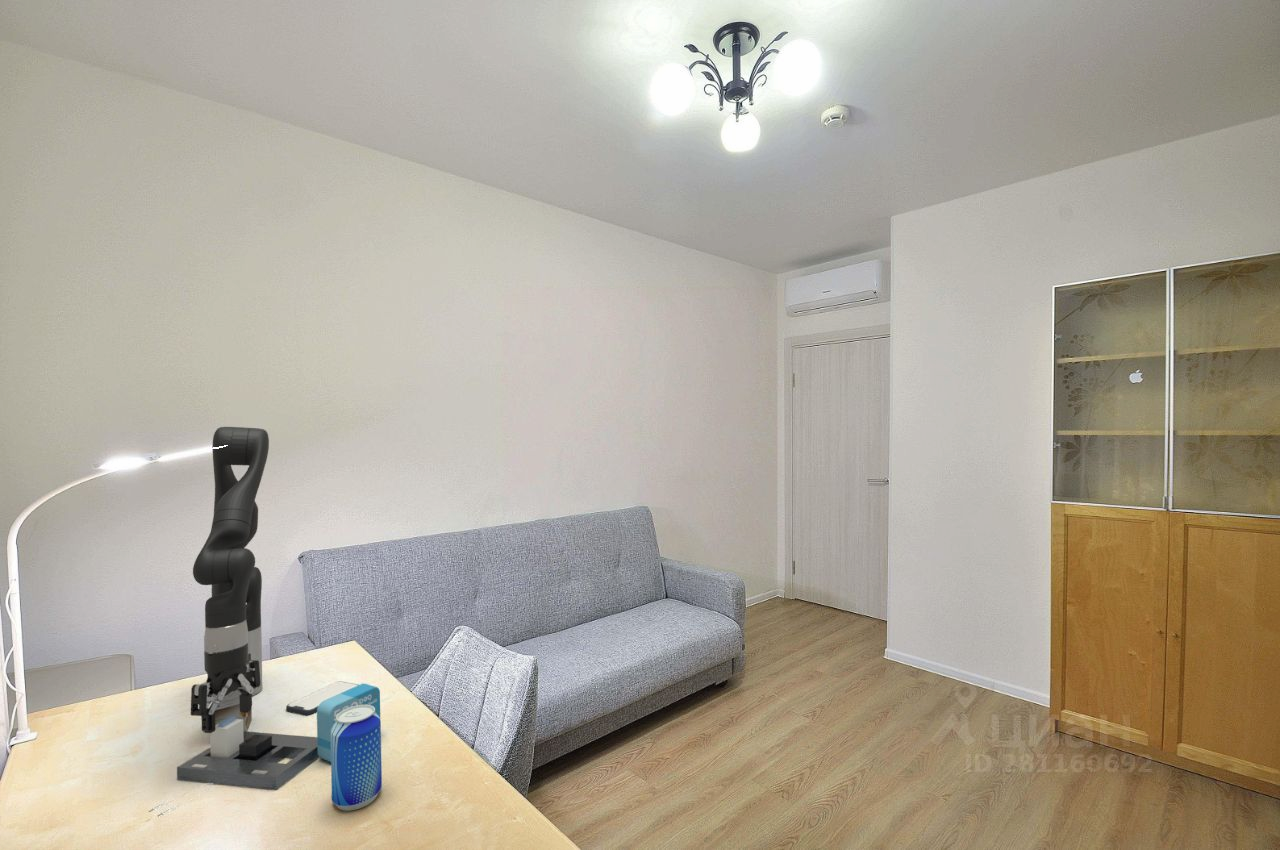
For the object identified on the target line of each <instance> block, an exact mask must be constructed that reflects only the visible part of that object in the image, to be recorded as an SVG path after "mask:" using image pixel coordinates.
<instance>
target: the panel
mask: <svg viewBox="0 0 1280 850" xmlns="http://www.w3.org/2000/svg"><path fill="white" fill-rule="evenodd" d="M243 736H244V742H242V743H241V744H239V751H237V752H236V753H234V754H233V755H231V756H229V757H228V758H219V757H211V750H210V747H209V748H207V749H205V750H204V751H202V752H200V753H199V754H197V755H195V756H193V757H191V758H190V759H188V760H187V761H185V762H183V763H182V764H180V765H179V766H176V780H178V781H184V782H187V781H188V782H195V783H196V782H197V783H203V784H207V783H213V784H214V785H215V784H217V785H225V786H231V787H235V786H236V787H242V788H243V787H245V788H252V789H254V788H255V789H263V790H271V791H272V790H273V791H277V790H279V789H280V788H282V787H283V786H285V784H287V783H288V782H290V780H291V779H293V778H294V777H296V775H298V774H300V773H301V772H302V771H304V769H306V768H307V767H308V766H310V765H311V764H313V763H314V762H315V761H316V760H318V759H319V758H320V757H319V756H318V746H317V736H306V735H295V734H294V735H293V734H285V733H284V734H282V733H271V732H270V733H269V732H259V731H258V732H257V731H249V730H247V731H243ZM284 759H287V760H288V759H290V760H289V761H288V762H286V763H281V761H283V760H284Z"/></svg>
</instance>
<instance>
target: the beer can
mask: <svg viewBox="0 0 1280 850" xmlns="http://www.w3.org/2000/svg"><path fill="white" fill-rule="evenodd" d="M381 722H382V721H381V716H380V717H379V716H378V715H377V713H376V712H375V708H374V707H373V706H371V705H357V706H353V707H350V708H347V709H345V710H343V711H341V712H340V713H338V715H337V716H336V721H335V723H334V725H333V726H332V728H331V762H330V768H331V769H330V770H331V771H330V772H331V775H330V776H331V777H330V779H331V801H332V803H333V804H334V805H335V806H336V807H337V808H338V809H339V810H341V811H344V812H345V811H346V812H347V811H349V812H350V811H354V810H359V809H362V808H365V807H366V806H368V805H370V804H372V802H374V800H375V799H377V796H378V794H379V793H380V791H381V790H382V786H383V782H382V781H383V780H382V779H383V778H382V777H383V775H382V728H381V727H382V724H381Z"/></svg>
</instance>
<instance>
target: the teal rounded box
mask: <svg viewBox="0 0 1280 850" xmlns="http://www.w3.org/2000/svg"><path fill="white" fill-rule="evenodd" d="M357 705H371V706H373V707H374V708H375V712H376V713H377V715H378V716H379V717H380V718H381V691H380V689H379V687H378V686H374V685H370V684H367V683H360V684H358V686H356V687H353V688H351V689H349V690H347V691H344V692H342V693H340V694H338V695H335V696H333V697H331V698H329V699H326V700H324V701H323V702H321V703H320V704H319V706H318V708H317V712H316V734H317V735H316V737H317V746H318V756H319V758H320V759H322V760H325V761H327V762H330V763H331V728H332V726H333V725H334V723H335V721H336V716H337V715H338V713H340V712H341V711H343V710H345V709H347V708H350V707H353V706H357Z"/></svg>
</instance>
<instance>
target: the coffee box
mask: <svg viewBox="0 0 1280 850" xmlns="http://www.w3.org/2000/svg"><path fill="white" fill-rule="evenodd" d="M248 660H251V654H248ZM244 677H245V678H246V674H245V676H244ZM241 694H242V693H240V692H239V691H238V690H236V691H232V692H230V693H229V694H228V695H226V696H224V697H223V699H222V701H221V702H220V703H219V704H218V705H217V707H216V709H215V711H214V713H215V725H216V724H218V723H219V722H221V721H223V720H225V719H226V718H228V717H230V716H236V719H243V731H249V730H248V729H249V727H250V724H251V722H252V720H253V716H252V715H253V712H252V711H253V706H252V707H251V711H249V712H247V713H243V712H240V698H239V695H241ZM212 697H216V695H214V694H213V695H212Z"/></svg>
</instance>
